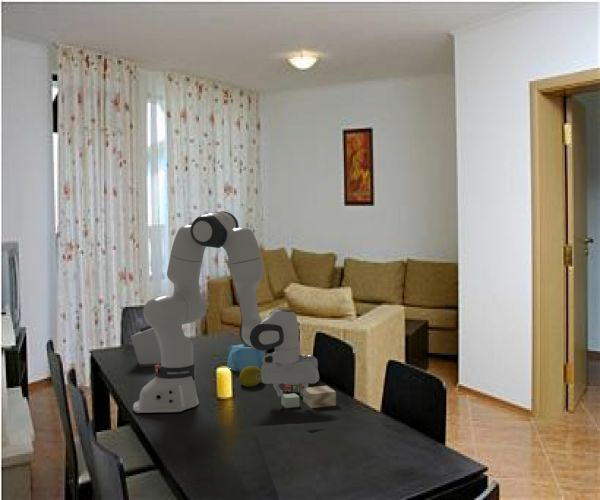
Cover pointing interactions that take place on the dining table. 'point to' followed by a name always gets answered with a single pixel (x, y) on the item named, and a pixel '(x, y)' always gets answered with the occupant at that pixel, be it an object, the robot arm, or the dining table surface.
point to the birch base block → (320, 397)
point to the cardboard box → (293, 385)
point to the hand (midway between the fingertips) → (291, 395)
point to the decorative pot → (244, 357)
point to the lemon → (250, 376)
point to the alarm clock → (147, 347)
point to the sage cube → (290, 400)
